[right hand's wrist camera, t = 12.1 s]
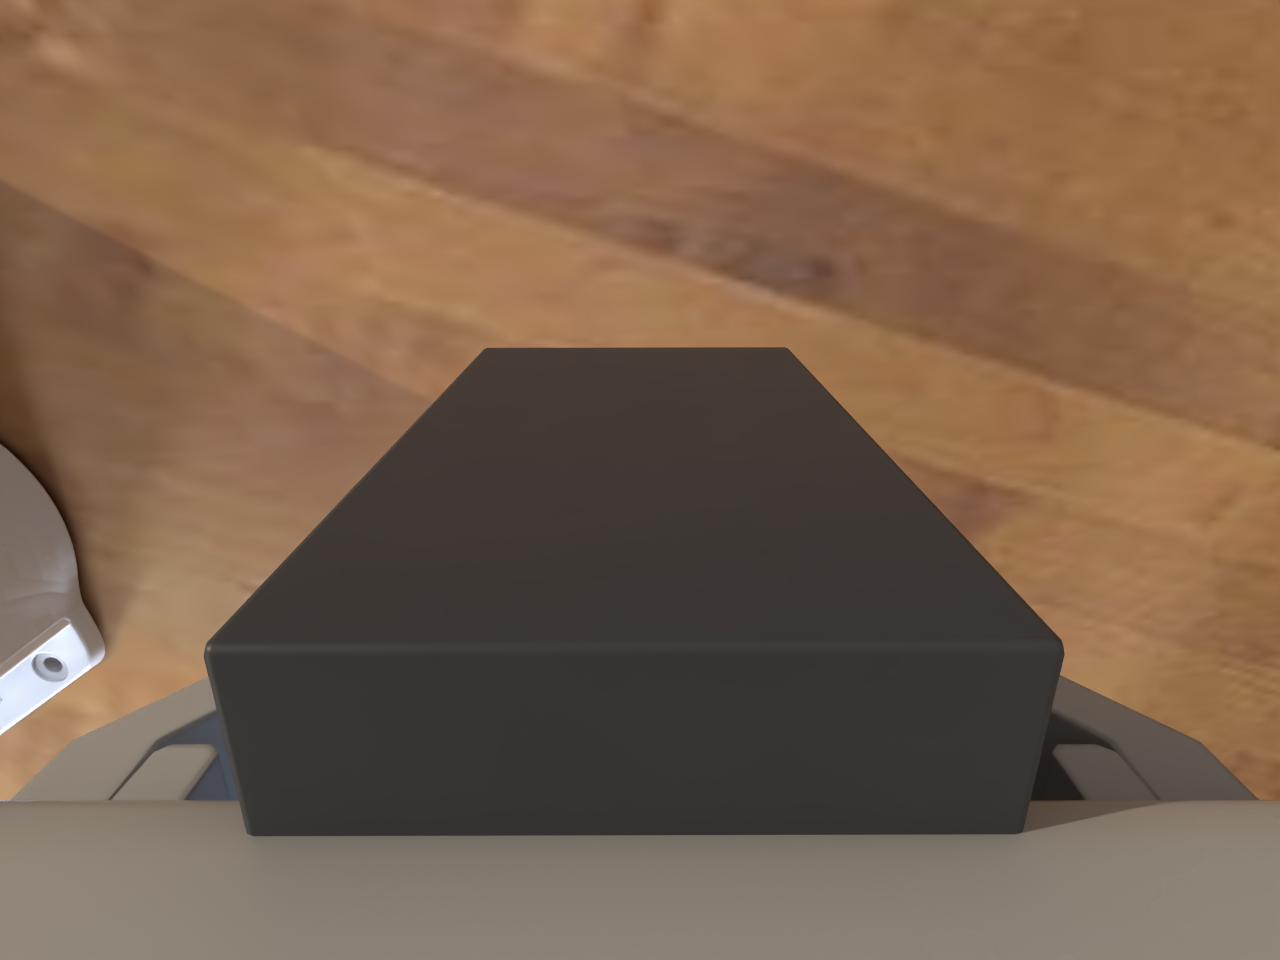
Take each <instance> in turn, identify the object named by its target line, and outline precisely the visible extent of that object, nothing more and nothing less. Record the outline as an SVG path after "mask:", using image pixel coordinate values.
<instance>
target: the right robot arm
mask: <svg viewBox="0 0 1280 960" xmlns="http://www.w3.org/2000/svg"><path fill="white" fill-rule="evenodd" d="M104 655H105V644H104V641H103V638H102V635H101V633H100V631H99V629H98V627H97V626H96V624H95V622H94V620H93V618H92V617H91V615H90V613H89V612H88V610H87V608H86V607H85V605H84V603H83V601H82V597H81V593H80V588H79V580H78V571H77V562H76V557H75V552H74V548H73V544H72V541H71V538H70V535H69V532H68V530H67V528H66V525H65V523H64V521H63V519H62V517H61V515H60V513H59V511H58V509H57V508H56V506H55V504H54V503H53V501H52V499H51V498H50V496H49V495H48V494H47V492H46V491H45V489H44V488H43V487H42V485H41V484H40V483H39V481H38V480H37V479H36V478H35V477H34V476H33V474H32V473H31V472H30V471H29V470H28V469H27V468H26V467H25V466H24V465H23V464H22V463H21V462H20V461H19V460H18V459H17V458H16V457H15V456H14V455H13V454H12V453H11V452H10V451H9V450H7V449H6V448H5V447H4V446H3V445H1V444H0V735H1V734H2V733H4V732H5V731H6V730H8V729H9V728H10V727H12V726H13V725H14V724H16V723H17V722H19V721H20V720H21V719H23V718H24V717H25V716H27V715H28V714H30V713H31V712H32V711H34V710H35V709H36V708H38V707H39V706H40V705H42V704H43V703H45V702H46V701H47V700H49V699H50V698H51V697H53V696H54V695H56V694H57V693H58V692H60V691H61V690H62V689H64V688H65V687H66V686H68V685H69V684H71V683H72V682H73V681H75V680H76V679H77V678H79V677H80V676H82V675H83V674H84V673H86V672H87V671H88V670H90V669H91V668H92V667H94V666H95V665H96V664H98V663H99V662H100V661H101V660H102V659H103V657H104ZM57 659H58V660H59V661H60V662H59V661H58V660H57ZM0 960H1280V800H1258V799H1257V798H1256V797H1255V796H1254V795H1253V794H1252V793H1251V792H1250V791H1249V790H1248V789H1247V788H1246V787H1245V786H1244V785H1243V784H1242V783H1241V782H1240V781H1239V780H1238V779H1237V778H1236V777H1235V776H1234V775H1233V774H1232V773H1231V772H1230V771H1229V770H1228V769H1227V768H1226V767H1225V766H1224V765H1223V764H1222V763H1221V762H1220V761H1219V760H1218V759H1217V758H1216V757H1215V756H1214V755H1213V754H1212V753H1211V752H1210V751H1209V750H1208V749H1207V748H1206V747H1205V746H1204V745H1203V744H1202V743H1201V742H1199V741H1197V740H1195V739H1193V738H1191V737H1189V736H1187V735H1184V734H1182V733H1180V732H1178V731H1176V730H1174V729H1172V728H1170V727H1168V726H1166V725H1163V724H1161V723H1159V722H1157V721H1155V720H1153V719H1151V718H1149V717H1147V716H1145V715H1142V714H1140V713H1138V712H1136V711H1134V710H1132V709H1130V708H1128V707H1126V706H1124V705H1121V704H1119V703H1117V702H1115V701H1113V700H1111V699H1109V698H1107V697H1105V696H1103V695H1100V694H1098V693H1096V692H1094V691H1092V690H1090V689H1088V688H1086V687H1084V686H1082V685H1079V684H1077V683H1075V682H1073V681H1071V680H1069V679H1067V678H1065V677H1063V676H1061V675H1059V680H1058V684H1057V688H1056V692H1055V697H1054V701H1053V705H1052V710H1051V714H1050V718H1049V722H1048V727H1047V731H1046V735H1045V739H1044V744H1043V748H1042V752H1041V756H1040V761H1039V765H1038V769H1037V773H1036V778H1035V782H1034V786H1033V791H1032V795H1031V799H1030V803H1029V808H1028V812H1027V816H1026V820H1025V825H1024V829H1023V832H1021V833H1018V834H963V835H568V836H252V835H249V834H247V832H246V828H245V824H244V820H243V816H242V812H241V808H240V803H239V799H238V795H237V791H236V787H235V783H234V779H233V775H232V771H231V767H230V762H229V758H228V754H227V750H226V746H225V742H224V738H223V734H222V730H221V725H220V721H219V717H218V713H217V709H216V705H215V701H214V697H213V693H212V689H211V684H210V680H209V677H206V678H204V679H202V680H200V681H198V682H196V683H194V684H192V685H189V686H187V687H185V688H183V689H181V690H179V691H177V692H174V693H172V694H170V695H168V696H166V697H164V698H162V699H160V700H157V701H155V702H153V703H151V704H149V705H147V706H145V707H143V708H140V709H138V710H136V711H134V712H132V713H130V714H128V715H126V716H123V717H121V718H119V719H117V720H115V721H113V722H111V723H109V724H106V725H104V726H102V727H100V728H98V729H96V730H94V731H92V732H89V733H87V734H85V735H83V736H81V737H79V738H77V739H75V740H72V741H71V742H70V743H69V744H67V745H66V746H65V747H64V748H63V749H62V750H61V751H60V752H59V753H58V754H57V755H56V756H55V757H54V758H53V759H52V760H51V761H50V762H49V763H48V764H47V765H46V766H45V767H44V768H43V769H42V770H41V771H40V772H39V773H38V774H37V775H36V776H34V777H33V778H32V779H31V780H30V781H29V782H28V783H27V784H26V785H25V786H24V787H23V788H22V789H21V790H20V791H19V792H18V793H17V794H16V795H15V796H14V797H13V798H12V799H11V800H0Z"/></svg>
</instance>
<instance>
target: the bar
mask: <svg viewBox="0 0 1280 960" xmlns="http://www.w3.org/2000/svg"><path fill="white" fill-rule="evenodd" d="M1063 658H1064V648H1063V644H1062V641H1061V639H1060V638H1059V637H1058V636H1057V635H1056V634H1055V633H1054V632H1053V631H1052V630H1051V629H1050V628H1049V627H1048V625H1047V624H1046V623H1045V622H1044V621H1043V620H1042V619H1041V618H1040V617H1039V616H1038V615H1037V614H1036V613H1035V612H1034V611H1033V609H1032V608H1031V607H1030V606H1029V605H1028V604H1027V603H1026V602H1025V601H1024V600H1023V599H1022V598H1021V597H1020V596H1019V595H1018V593H1017V592H1016V591H1015V590H1014V589H1013V588H1012V587H1011V586H1010V585H1009V584H1008V583H1007V582H1006V581H1005V580H1004V579H1003V577H1002V576H1001V575H1000V574H999V573H998V572H997V571H996V570H995V569H994V568H993V567H992V566H991V565H990V564H989V563H988V561H987V560H986V559H985V558H984V557H983V556H982V555H981V554H980V553H979V552H978V551H977V550H976V549H975V548H974V547H973V545H972V544H971V543H970V542H969V541H968V540H967V539H966V538H965V537H964V536H963V535H962V534H961V533H960V532H959V531H958V529H957V528H956V527H955V526H954V525H953V524H952V523H951V522H950V521H949V520H948V519H947V518H946V517H945V516H944V515H943V513H942V512H941V511H940V510H939V509H938V508H937V507H936V506H935V505H934V504H933V503H932V502H931V501H930V500H929V499H928V497H927V496H926V495H925V494H924V493H923V492H922V491H921V490H920V489H919V488H918V487H917V486H916V485H915V484H914V483H913V482H912V480H911V479H910V478H909V477H908V476H907V475H906V474H905V473H904V472H903V471H902V470H901V469H900V468H899V467H898V466H897V464H896V463H895V462H894V461H893V460H892V459H891V458H890V457H889V456H888V455H887V454H886V453H885V452H884V451H883V450H882V448H881V447H880V446H879V445H878V444H877V443H876V442H875V441H874V440H873V439H872V438H871V437H870V436H869V435H868V434H867V432H866V431H865V430H864V429H863V428H862V427H861V426H860V425H859V424H858V423H857V422H856V421H855V420H854V419H853V418H852V416H851V415H850V414H849V413H848V412H847V411H846V410H845V409H844V408H843V407H842V406H841V405H840V404H839V403H838V402H837V400H836V399H835V398H834V397H833V396H832V395H831V394H830V393H829V392H828V391H827V390H826V389H825V388H824V387H823V386H822V384H821V383H820V382H819V381H818V380H817V379H816V378H815V377H814V376H813V375H812V374H811V373H810V372H809V371H808V370H807V368H806V367H805V366H804V365H803V364H802V363H801V362H800V361H799V360H798V359H797V358H796V357H795V356H794V355H793V354H792V352H791V351H790V350H789V349H787V348H785V347H782V348H486V349H484V350H483V351H482V352H481V353H480V354H479V355H478V356H477V357H476V358H475V359H474V361H473V362H472V363H471V364H470V365H469V366H468V367H467V368H466V369H465V370H464V371H463V372H462V373H461V374H460V375H459V376H458V377H457V379H456V380H455V381H454V382H453V383H452V384H451V385H450V386H449V387H448V388H447V389H446V390H445V391H444V392H443V393H442V394H441V395H440V397H439V398H438V399H437V400H436V401H435V402H434V403H433V404H432V405H431V406H430V407H429V408H428V409H427V410H426V411H425V412H424V413H423V415H422V416H421V417H420V418H419V419H418V420H417V421H416V422H415V423H414V424H413V425H412V426H411V427H410V428H409V429H408V430H407V431H406V433H405V434H404V435H403V436H402V437H401V438H400V439H399V440H398V441H397V442H396V443H395V444H394V445H393V446H392V447H391V448H390V449H389V451H388V452H387V453H386V454H385V455H384V456H383V457H382V458H381V459H380V460H379V461H378V462H377V463H376V464H375V465H374V466H373V467H372V469H371V470H370V471H369V472H368V473H367V474H366V475H365V476H364V477H363V478H362V479H361V480H360V481H359V482H358V483H357V484H356V485H355V486H354V488H353V489H352V490H351V491H350V492H349V493H348V494H347V495H346V496H345V497H344V498H343V499H342V500H341V501H340V502H339V503H338V504H337V506H336V507H335V508H334V509H333V510H332V511H331V512H330V513H329V514H328V515H327V516H326V517H325V518H324V519H323V520H322V521H321V522H320V524H319V525H318V526H317V527H316V528H315V529H314V530H313V531H312V532H311V533H310V534H309V535H308V536H307V537H306V538H305V539H304V540H303V542H302V543H301V544H300V545H299V546H298V547H297V548H296V549H295V550H294V551H293V552H292V553H291V554H290V555H289V556H288V557H287V558H286V560H285V561H284V562H283V563H282V564H281V565H280V566H279V567H278V568H277V569H276V570H275V571H274V572H273V573H272V574H271V575H270V576H269V578H268V579H267V580H266V581H265V582H264V583H263V584H262V585H261V586H260V587H259V588H258V589H257V590H256V591H255V592H254V593H253V594H252V596H251V597H250V598H249V599H248V600H247V601H246V602H245V603H244V604H243V605H242V606H241V607H240V608H239V609H238V610H237V611H236V612H235V614H234V615H233V616H232V617H231V618H230V619H229V620H228V621H227V622H226V623H225V624H224V625H223V626H222V627H221V628H220V629H219V630H218V632H217V633H216V634H215V635H214V636H213V637H212V638H211V639H210V640H209V641H208V642H207V644H206V647H205V652H204V660H205V664H206V668H207V672H208V676H209V680H210V684H211V689H212V693H213V697H214V701H215V705H216V709H217V713H218V717H219V721H220V725H221V730H222V734H223V738H224V742H225V746H226V750H227V754H228V758H229V762H230V767H231V771H232V775H233V779H234V783H235V787H236V791H237V795H238V799H239V803H240V808H241V812H242V816H243V820H244V824H245V828H246V832H247V834H249V835H252V836H568V835H963V834H1018V833H1021V832H1023V829H1024V825H1025V820H1026V816H1027V812H1028V808H1029V803H1030V799H1031V795H1032V791H1033V786H1034V782H1035V778H1036V773H1037V769H1038V765H1039V761H1040V756H1041V752H1042V748H1043V744H1044V739H1045V735H1046V731H1047V727H1048V722H1049V718H1050V714H1051V710H1052V705H1053V701H1054V697H1055V692H1056V688H1057V684H1058V680H1059V675H1060V671H1061V667H1062V663H1063Z"/></svg>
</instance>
